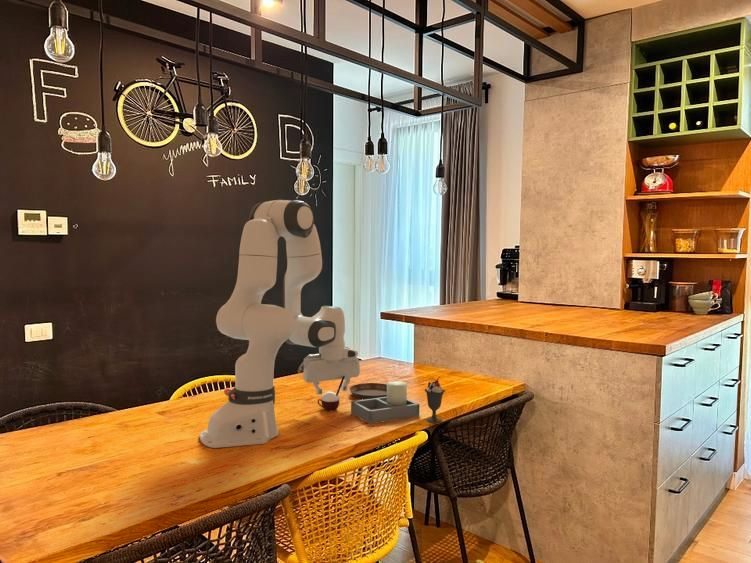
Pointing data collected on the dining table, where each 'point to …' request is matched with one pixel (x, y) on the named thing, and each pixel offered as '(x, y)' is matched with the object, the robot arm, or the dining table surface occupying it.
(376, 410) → the caddy
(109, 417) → the dining table surface
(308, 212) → the robot arm
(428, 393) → the sundae
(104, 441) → the dining table surface
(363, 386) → the plant saucer
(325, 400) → the cocoa
